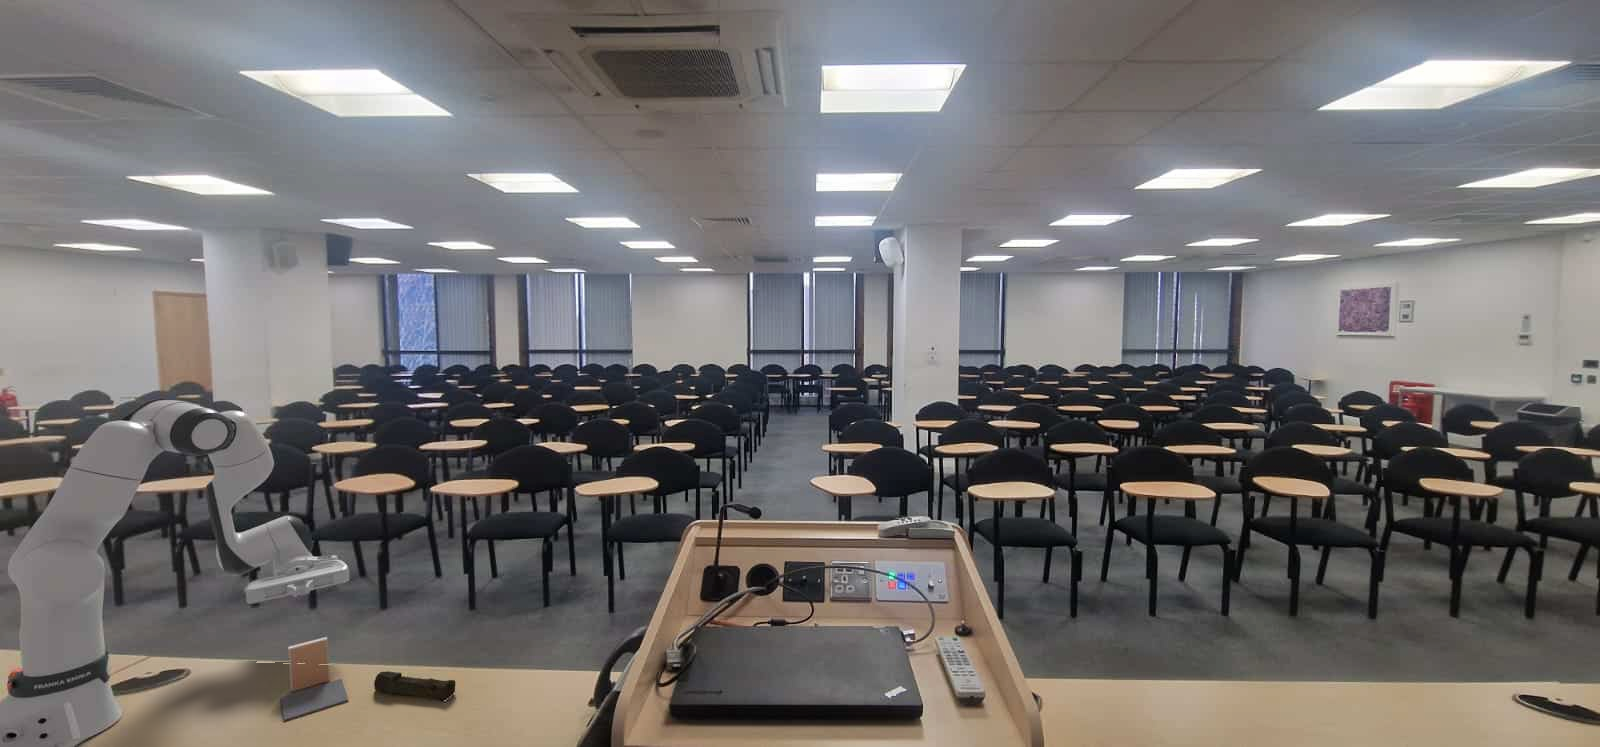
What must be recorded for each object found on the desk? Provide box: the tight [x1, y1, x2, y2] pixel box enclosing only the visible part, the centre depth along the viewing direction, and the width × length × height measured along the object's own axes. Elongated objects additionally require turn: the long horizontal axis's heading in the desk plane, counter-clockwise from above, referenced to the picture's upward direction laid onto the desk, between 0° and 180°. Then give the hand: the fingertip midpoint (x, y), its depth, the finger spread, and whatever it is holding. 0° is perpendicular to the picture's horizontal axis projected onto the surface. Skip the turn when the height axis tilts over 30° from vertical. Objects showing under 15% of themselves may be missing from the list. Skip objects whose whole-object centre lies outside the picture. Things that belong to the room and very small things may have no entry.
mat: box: [280, 678, 349, 722], centre depth 143 cm, size 11×11×1 cm
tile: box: [287, 636, 331, 692], centre depth 148 cm, size 7×2×10 cm, turn 131°
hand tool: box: [373, 671, 457, 702], centre depth 145 cm, size 19×4×5 cm, turn 78°
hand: (301, 592), depth 157 cm, fingers closed
